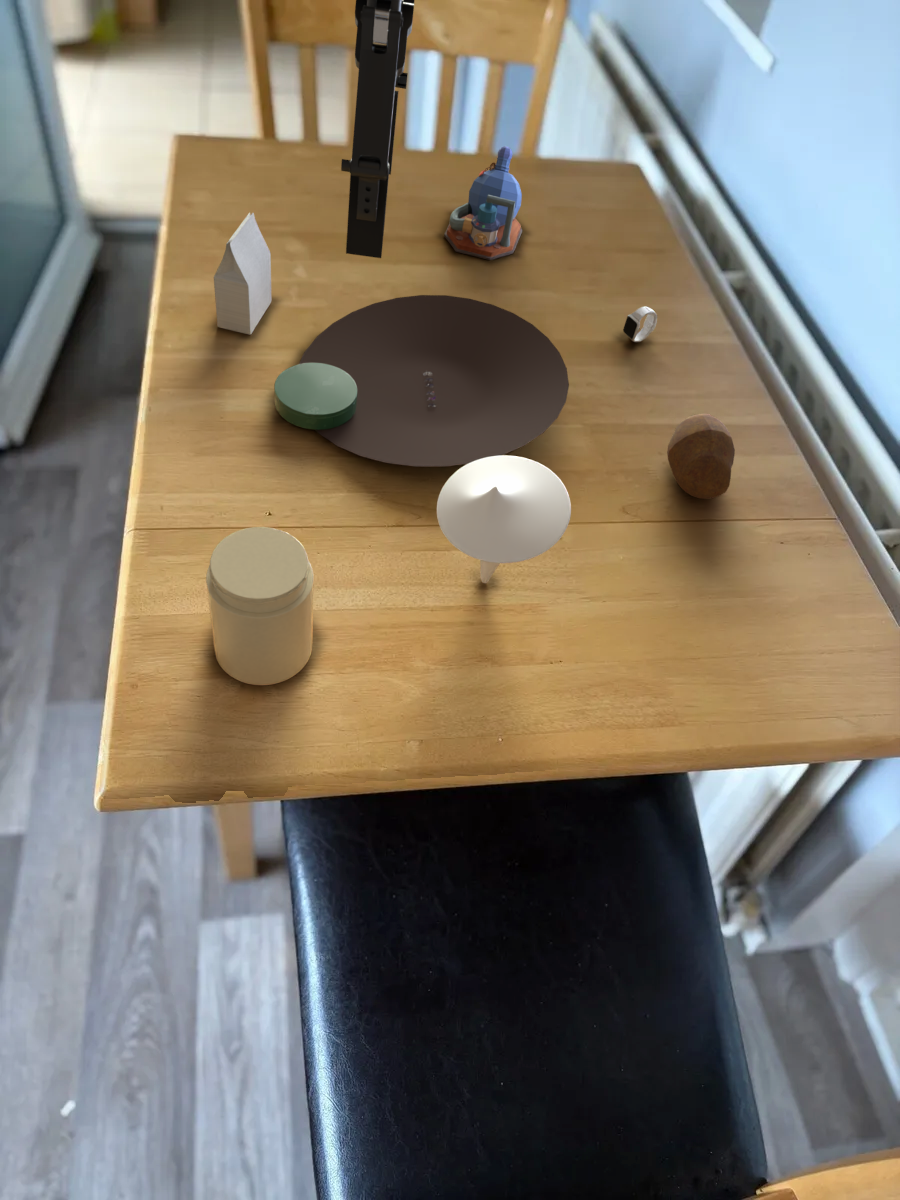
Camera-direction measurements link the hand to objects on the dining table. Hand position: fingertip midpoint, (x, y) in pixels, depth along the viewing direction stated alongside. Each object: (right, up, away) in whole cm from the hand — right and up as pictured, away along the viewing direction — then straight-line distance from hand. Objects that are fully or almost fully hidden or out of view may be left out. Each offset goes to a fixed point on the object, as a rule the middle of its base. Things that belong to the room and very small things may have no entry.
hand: (369, 210), depth 74 cm
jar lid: (-7, -11, +15) cm, 20 cm away
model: (+11, +15, +43) cm, 47 cm away
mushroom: (+10, -30, +5) cm, 32 cm away
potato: (+31, -19, +18) cm, 41 cm away
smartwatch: (+28, -1, +32) cm, 43 cm away
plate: (+4, -10, +21) cm, 24 cm away
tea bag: (-16, -1, +25) cm, 30 cm away
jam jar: (-8, -35, -2) cm, 36 cm away
